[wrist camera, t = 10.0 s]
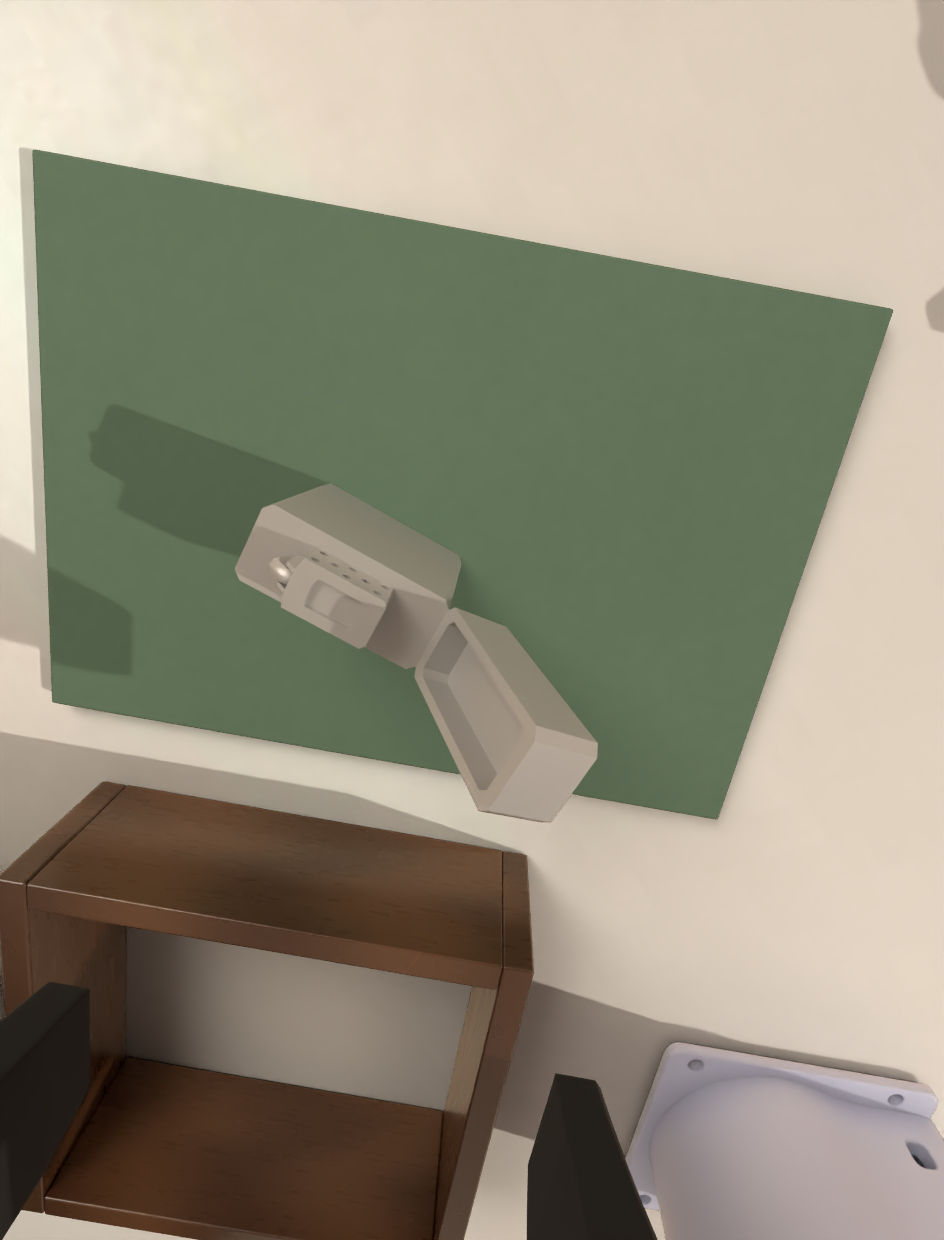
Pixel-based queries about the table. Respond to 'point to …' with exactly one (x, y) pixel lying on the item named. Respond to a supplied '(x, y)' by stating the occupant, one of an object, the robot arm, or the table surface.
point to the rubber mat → (425, 464)
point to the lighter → (424, 643)
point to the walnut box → (285, 923)
